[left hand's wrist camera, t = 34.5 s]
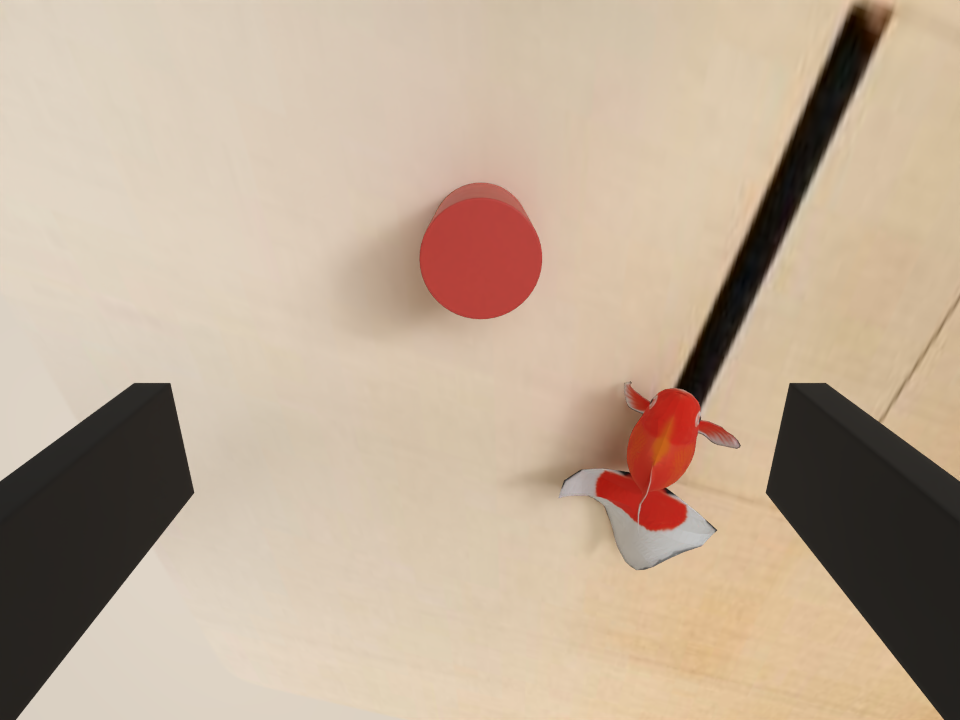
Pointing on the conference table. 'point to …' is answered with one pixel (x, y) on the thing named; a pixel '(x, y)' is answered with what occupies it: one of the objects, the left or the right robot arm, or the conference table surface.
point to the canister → (480, 252)
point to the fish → (653, 480)
